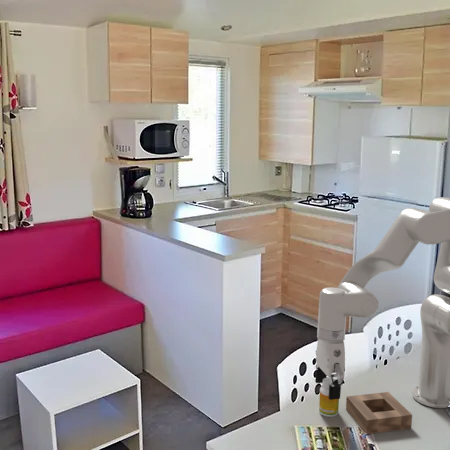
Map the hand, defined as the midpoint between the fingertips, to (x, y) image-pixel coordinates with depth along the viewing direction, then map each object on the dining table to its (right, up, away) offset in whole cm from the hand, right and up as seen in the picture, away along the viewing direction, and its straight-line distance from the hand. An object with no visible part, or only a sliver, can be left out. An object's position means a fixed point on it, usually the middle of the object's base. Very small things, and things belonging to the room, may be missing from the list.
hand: (327, 390), depth 156 cm
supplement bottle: (+1, -7, +1) cm, 7 cm away
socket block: (+14, -7, -2) cm, 16 cm away
